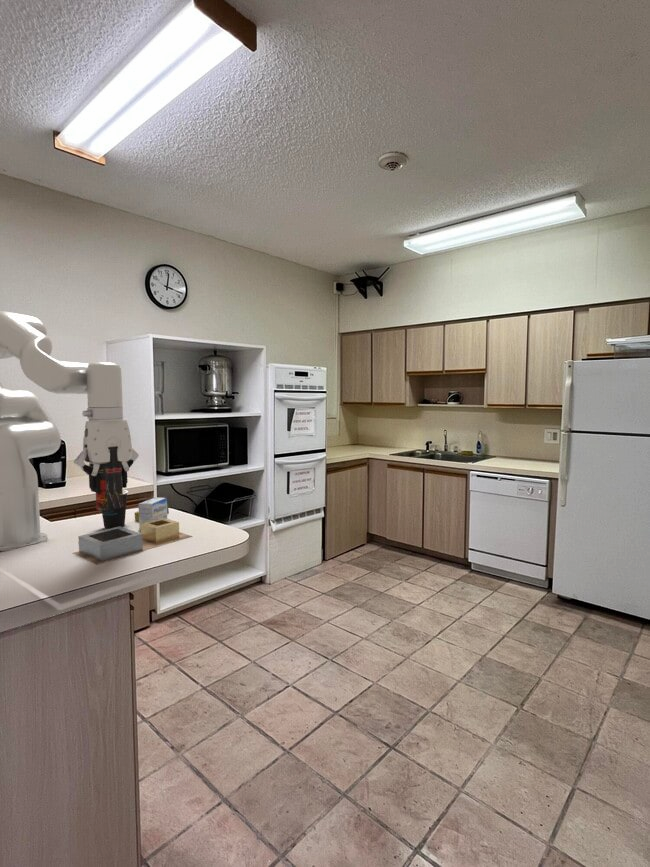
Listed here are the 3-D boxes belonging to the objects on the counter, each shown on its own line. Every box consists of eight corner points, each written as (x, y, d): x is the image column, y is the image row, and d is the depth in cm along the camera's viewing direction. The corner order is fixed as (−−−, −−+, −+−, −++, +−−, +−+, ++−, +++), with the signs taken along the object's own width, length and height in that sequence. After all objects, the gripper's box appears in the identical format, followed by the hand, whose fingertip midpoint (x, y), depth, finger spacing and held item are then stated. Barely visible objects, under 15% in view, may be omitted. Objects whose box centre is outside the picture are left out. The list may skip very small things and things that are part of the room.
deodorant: (127, 507, 113) (124, 445, 112) (101, 511, 109) (98, 447, 108) (117, 503, 117) (115, 443, 116) (92, 507, 113) (89, 445, 112)
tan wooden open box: (141, 538, 124) (140, 523, 124) (164, 532, 130) (163, 517, 129) (156, 543, 120) (155, 528, 120) (179, 536, 125) (178, 522, 125)
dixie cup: (124, 524, 141) (123, 488, 140) (132, 530, 135) (131, 492, 134) (96, 528, 136) (94, 491, 135) (103, 535, 130) (101, 496, 129)
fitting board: (72, 557, 113) (72, 553, 113) (166, 531, 133) (166, 528, 133) (97, 568, 106) (96, 564, 105) (192, 539, 126) (192, 536, 126)
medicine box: (153, 534, 131) (152, 503, 131) (138, 533, 132) (137, 503, 131) (168, 526, 139) (167, 497, 138) (154, 525, 140) (153, 496, 139)
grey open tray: (79, 552, 113) (78, 536, 113) (120, 541, 122) (119, 526, 121) (100, 561, 107) (99, 544, 107) (142, 549, 115) (142, 533, 115)
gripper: (75, 416, 102) (79, 498, 104) (147, 413, 116) (150, 485, 117) (60, 416, 107) (64, 493, 108) (131, 413, 120) (134, 482, 122)
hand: (109, 488), depth 113 cm, fingers closed on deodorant, 5 cm apart
